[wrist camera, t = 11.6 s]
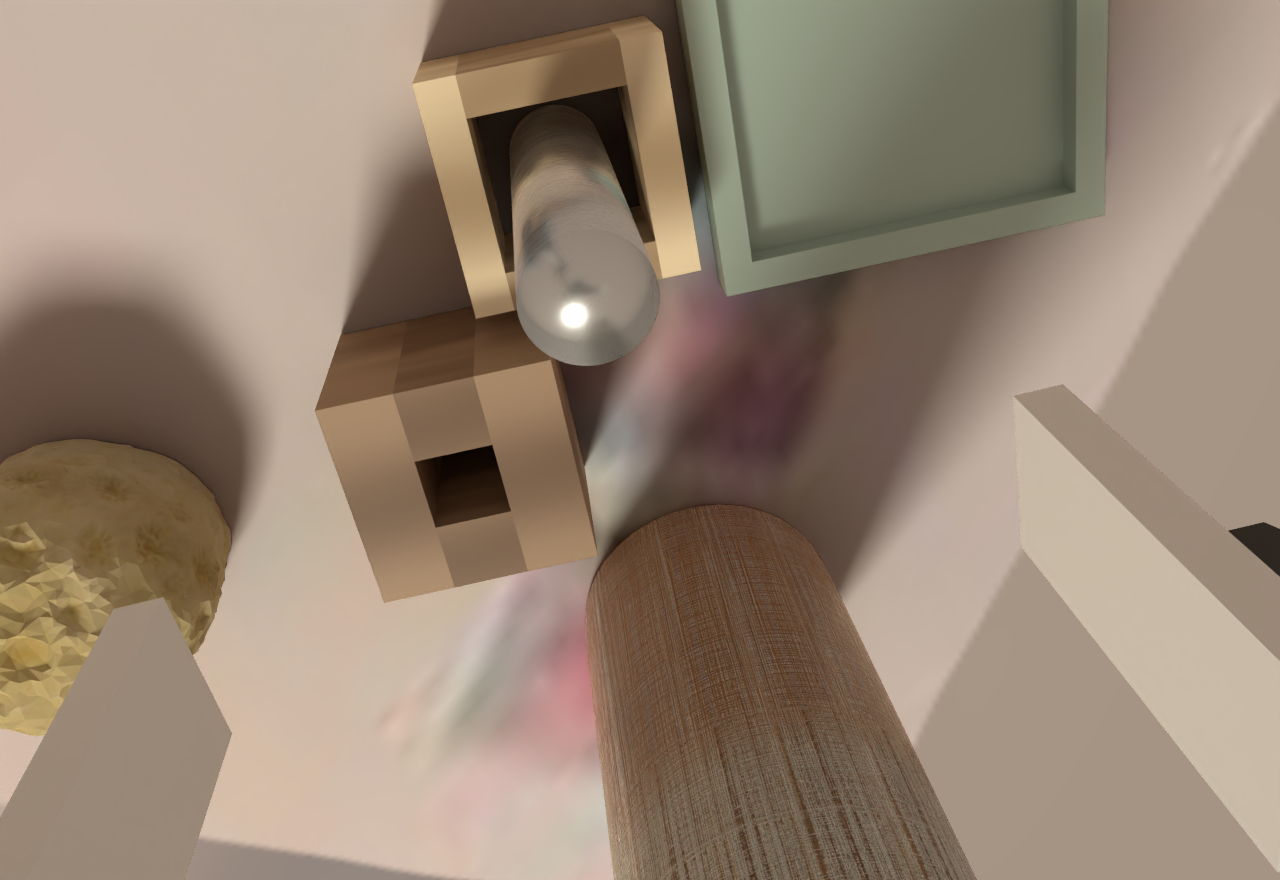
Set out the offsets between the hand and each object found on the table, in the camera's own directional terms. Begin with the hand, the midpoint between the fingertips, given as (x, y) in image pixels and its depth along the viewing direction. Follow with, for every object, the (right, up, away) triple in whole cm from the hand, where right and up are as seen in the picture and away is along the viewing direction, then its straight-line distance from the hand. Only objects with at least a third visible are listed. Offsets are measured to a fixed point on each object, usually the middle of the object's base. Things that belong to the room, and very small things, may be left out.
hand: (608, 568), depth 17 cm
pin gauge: (-2, +11, +18) cm, 22 cm away
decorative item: (-19, -1, +23) cm, 30 cm away
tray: (+8, +14, +18) cm, 25 cm away
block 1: (-2, +11, +18) cm, 22 cm away
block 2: (-6, +3, +22) cm, 23 cm away
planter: (+3, -5, +28) cm, 28 cm away
